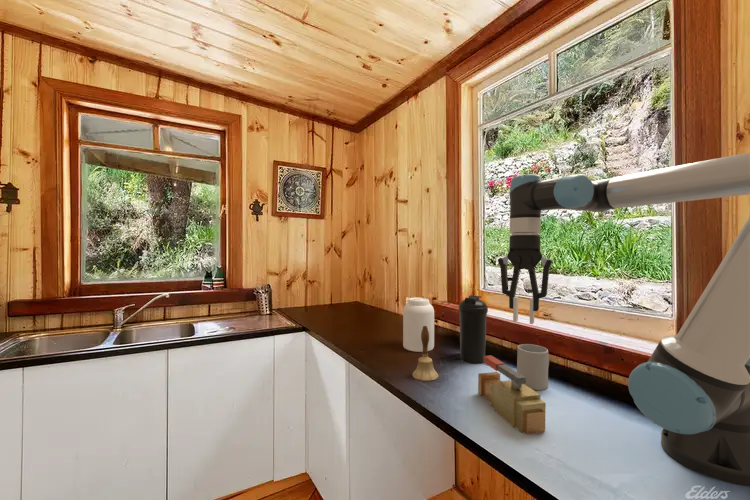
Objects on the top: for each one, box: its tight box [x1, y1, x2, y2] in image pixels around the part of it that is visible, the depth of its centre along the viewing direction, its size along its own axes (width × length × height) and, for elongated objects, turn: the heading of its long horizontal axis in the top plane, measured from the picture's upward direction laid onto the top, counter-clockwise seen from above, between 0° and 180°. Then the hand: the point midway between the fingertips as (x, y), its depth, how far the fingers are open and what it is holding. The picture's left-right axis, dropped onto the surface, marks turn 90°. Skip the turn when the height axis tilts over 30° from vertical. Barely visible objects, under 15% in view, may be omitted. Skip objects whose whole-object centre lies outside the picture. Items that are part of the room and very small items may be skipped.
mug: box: [516, 343, 550, 391], centre depth 100 cm, size 12×8×11 cm
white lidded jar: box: [402, 297, 435, 353], centre depth 133 cm, size 12×12×20 cm
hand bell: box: [411, 326, 439, 382], centre depth 105 cm, size 8×8×16 cm
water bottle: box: [458, 295, 489, 365], centre depth 119 cm, size 10×10×23 cm
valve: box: [477, 371, 547, 435], centre depth 84 cm, size 20×7×7 cm, turn 12°
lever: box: [483, 355, 526, 391], centre depth 86 cm, size 15×2×4 cm, turn 12°
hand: (523, 321), depth 88 cm, fingers open, 3 cm apart
